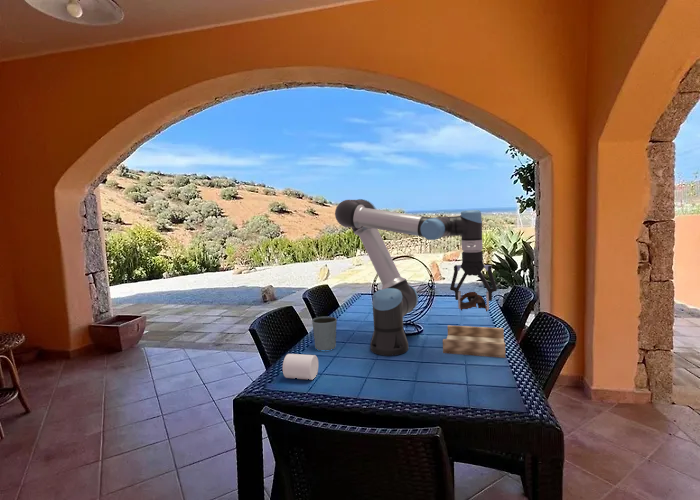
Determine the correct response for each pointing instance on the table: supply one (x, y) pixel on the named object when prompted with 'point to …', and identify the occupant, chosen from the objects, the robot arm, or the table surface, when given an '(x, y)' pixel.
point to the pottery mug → (472, 301)
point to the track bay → (475, 341)
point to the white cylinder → (300, 366)
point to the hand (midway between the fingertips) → (473, 308)
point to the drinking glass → (324, 332)
